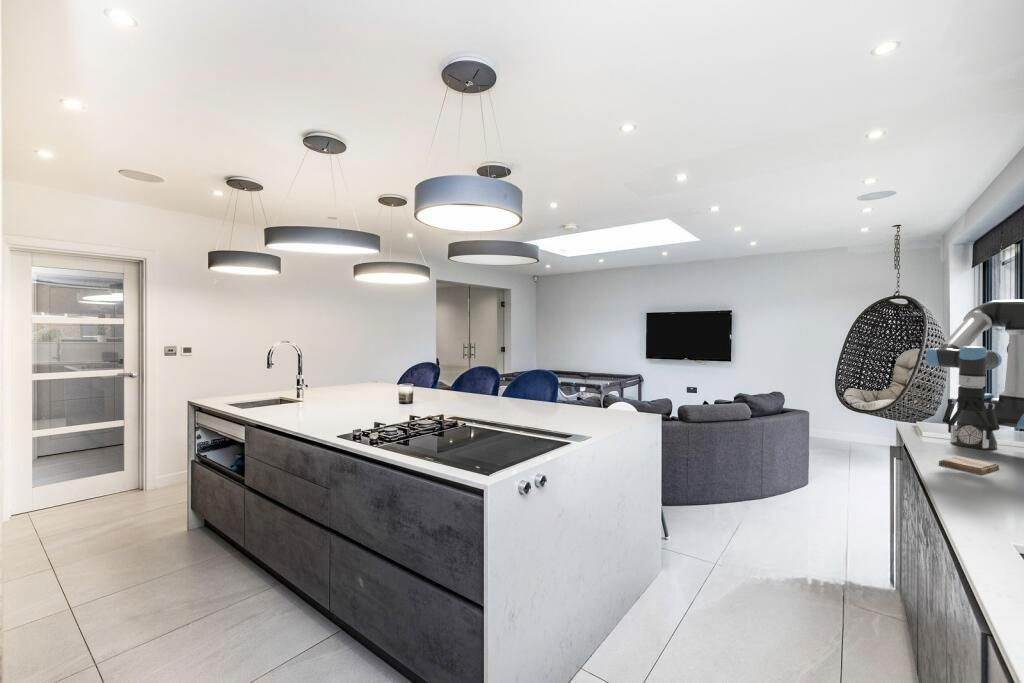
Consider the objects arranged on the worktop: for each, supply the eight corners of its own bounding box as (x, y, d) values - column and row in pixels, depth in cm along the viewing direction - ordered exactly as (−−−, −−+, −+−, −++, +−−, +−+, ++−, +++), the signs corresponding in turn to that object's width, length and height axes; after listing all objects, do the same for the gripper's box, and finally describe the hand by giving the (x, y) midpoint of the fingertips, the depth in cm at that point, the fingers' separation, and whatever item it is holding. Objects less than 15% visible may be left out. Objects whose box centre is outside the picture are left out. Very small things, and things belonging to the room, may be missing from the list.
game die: (975, 455, 190) (996, 438, 184) (952, 447, 191) (971, 430, 185) (967, 439, 197) (987, 422, 190) (944, 431, 198) (963, 414, 192)
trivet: (956, 460, 200) (956, 455, 200) (998, 469, 188) (999, 464, 188) (939, 464, 195) (939, 459, 195) (981, 474, 183) (981, 469, 183)
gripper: (932, 383, 198) (930, 439, 199) (1004, 391, 178) (1001, 452, 180) (942, 382, 201) (940, 437, 202) (1014, 389, 181) (1011, 450, 183)
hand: (969, 444), depth 191 cm, fingers closed on game die, 9 cm apart
